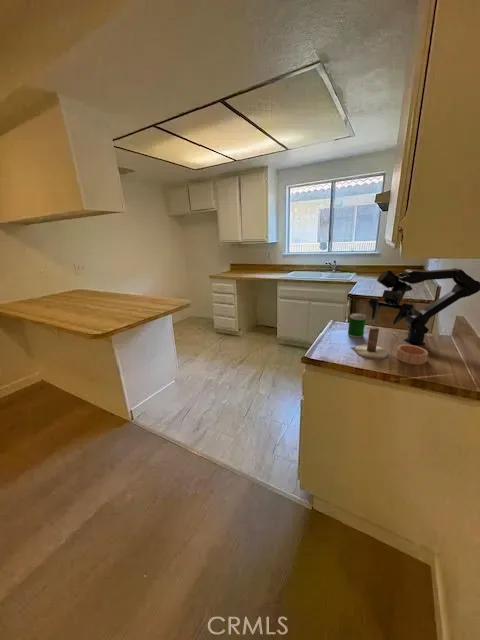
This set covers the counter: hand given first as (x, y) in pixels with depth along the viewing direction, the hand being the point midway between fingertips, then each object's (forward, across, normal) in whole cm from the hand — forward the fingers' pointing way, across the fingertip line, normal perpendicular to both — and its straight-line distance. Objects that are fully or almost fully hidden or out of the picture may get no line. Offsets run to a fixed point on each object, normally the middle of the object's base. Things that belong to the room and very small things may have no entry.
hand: (382, 321), depth 119 cm
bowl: (+10, +14, +9) cm, 19 cm away
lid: (+14, 0, +4) cm, 15 cm away
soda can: (+5, -15, +14) cm, 21 cm away
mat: (+15, 0, +4) cm, 15 cm away
